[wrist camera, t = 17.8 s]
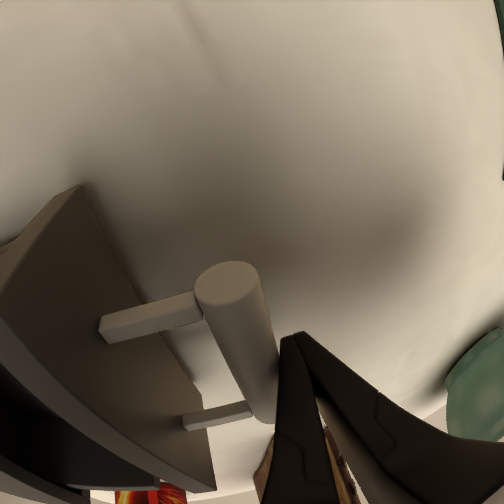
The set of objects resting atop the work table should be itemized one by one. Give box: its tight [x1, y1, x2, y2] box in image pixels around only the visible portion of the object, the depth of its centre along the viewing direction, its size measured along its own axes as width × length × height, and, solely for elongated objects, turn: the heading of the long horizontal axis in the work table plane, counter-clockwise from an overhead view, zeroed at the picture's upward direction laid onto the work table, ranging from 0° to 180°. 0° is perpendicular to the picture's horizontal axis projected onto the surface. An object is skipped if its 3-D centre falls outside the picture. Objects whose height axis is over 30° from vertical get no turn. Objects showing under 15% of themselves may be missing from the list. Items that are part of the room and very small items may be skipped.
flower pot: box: [445, 328, 504, 442], centre depth 22 cm, size 16×16×11 cm
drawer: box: [0, 184, 279, 494], centre depth 9 cm, size 18×12×6 cm
